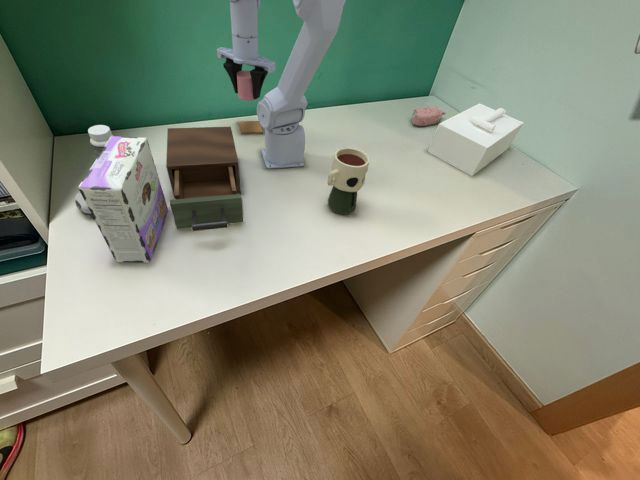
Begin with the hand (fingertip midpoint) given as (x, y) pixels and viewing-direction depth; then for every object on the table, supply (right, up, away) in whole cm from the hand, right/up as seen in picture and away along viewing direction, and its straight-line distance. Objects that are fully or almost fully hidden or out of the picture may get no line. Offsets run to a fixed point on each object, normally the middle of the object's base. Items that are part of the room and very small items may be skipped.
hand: (247, 94), depth 83 cm
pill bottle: (-29, -20, -9) cm, 36 cm away
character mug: (+23, -30, -10) cm, 39 cm away
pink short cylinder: (0, 0, 0) cm, 1 cm away
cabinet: (-8, -22, -8) cm, 25 cm away
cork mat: (-1, -6, +9) cm, 10 cm away
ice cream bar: (+54, +2, +26) cm, 60 cm away
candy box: (-14, -36, -22) cm, 45 cm away
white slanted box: (+64, -10, +15) cm, 66 cm away
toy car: (-23, -29, -17) cm, 41 cm away
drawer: (-4, -31, -17) cm, 36 cm away
